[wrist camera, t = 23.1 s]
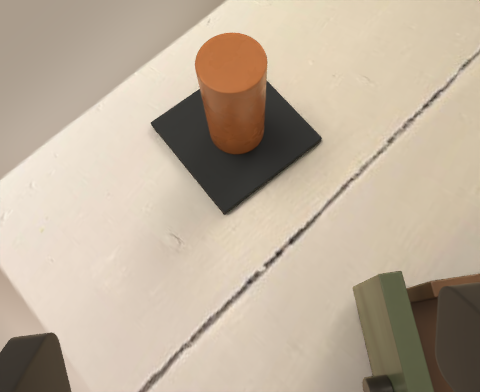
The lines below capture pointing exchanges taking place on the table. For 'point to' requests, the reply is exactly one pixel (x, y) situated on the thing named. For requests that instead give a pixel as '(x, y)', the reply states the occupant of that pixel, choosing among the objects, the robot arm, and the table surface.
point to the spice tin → (233, 90)
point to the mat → (235, 165)
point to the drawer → (402, 332)
